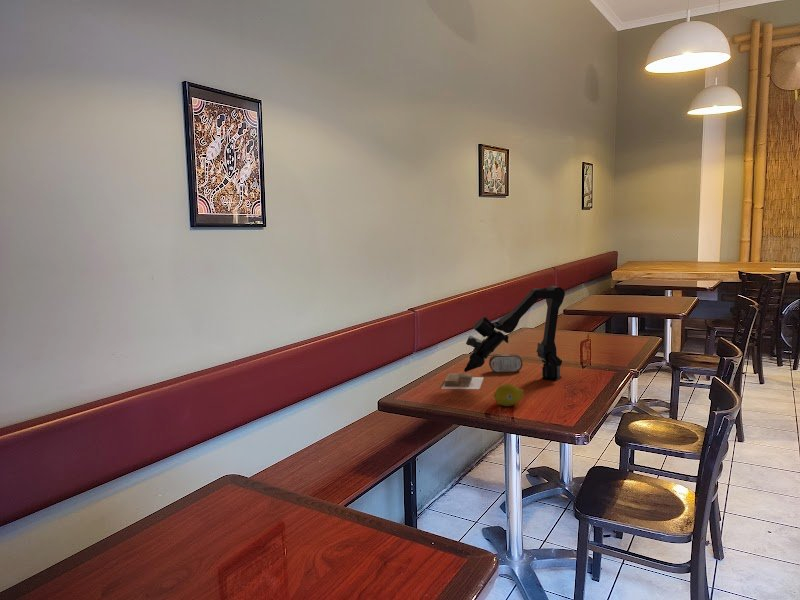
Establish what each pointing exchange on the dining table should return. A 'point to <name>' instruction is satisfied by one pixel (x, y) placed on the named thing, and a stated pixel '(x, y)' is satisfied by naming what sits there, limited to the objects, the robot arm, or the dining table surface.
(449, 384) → the board
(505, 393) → the lemon
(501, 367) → the tin
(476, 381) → the mat
